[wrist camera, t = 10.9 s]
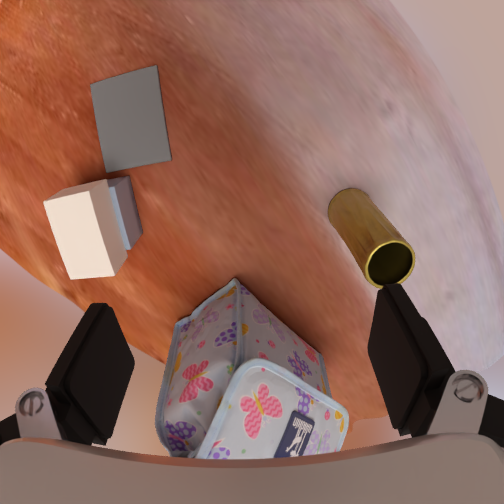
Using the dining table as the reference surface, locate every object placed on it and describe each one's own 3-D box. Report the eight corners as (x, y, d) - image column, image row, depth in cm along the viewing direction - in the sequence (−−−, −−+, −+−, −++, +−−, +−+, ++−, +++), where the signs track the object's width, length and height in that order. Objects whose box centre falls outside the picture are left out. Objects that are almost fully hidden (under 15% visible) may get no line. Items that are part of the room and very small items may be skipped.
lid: (62, 189, 33) (43, 201, 29) (106, 178, 33) (88, 190, 29) (85, 261, 38) (70, 279, 34) (127, 256, 37) (115, 275, 33)
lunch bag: (339, 347, 51) (374, 490, 28) (262, 390, 56) (265, 520, 33) (251, 260, 43) (250, 441, 20) (171, 321, 48) (128, 475, 25)
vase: (335, 182, 38) (375, 228, 25) (378, 194, 39) (429, 243, 26) (321, 226, 41) (350, 288, 28) (363, 236, 41) (403, 297, 29)
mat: (91, 84, 32) (90, 84, 31) (157, 65, 31) (156, 65, 31) (107, 172, 37) (106, 172, 37) (171, 159, 37) (171, 160, 36)
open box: (79, 186, 38) (60, 198, 34) (129, 175, 38) (114, 186, 33) (94, 238, 42) (78, 255, 37) (143, 232, 41) (130, 249, 37)
